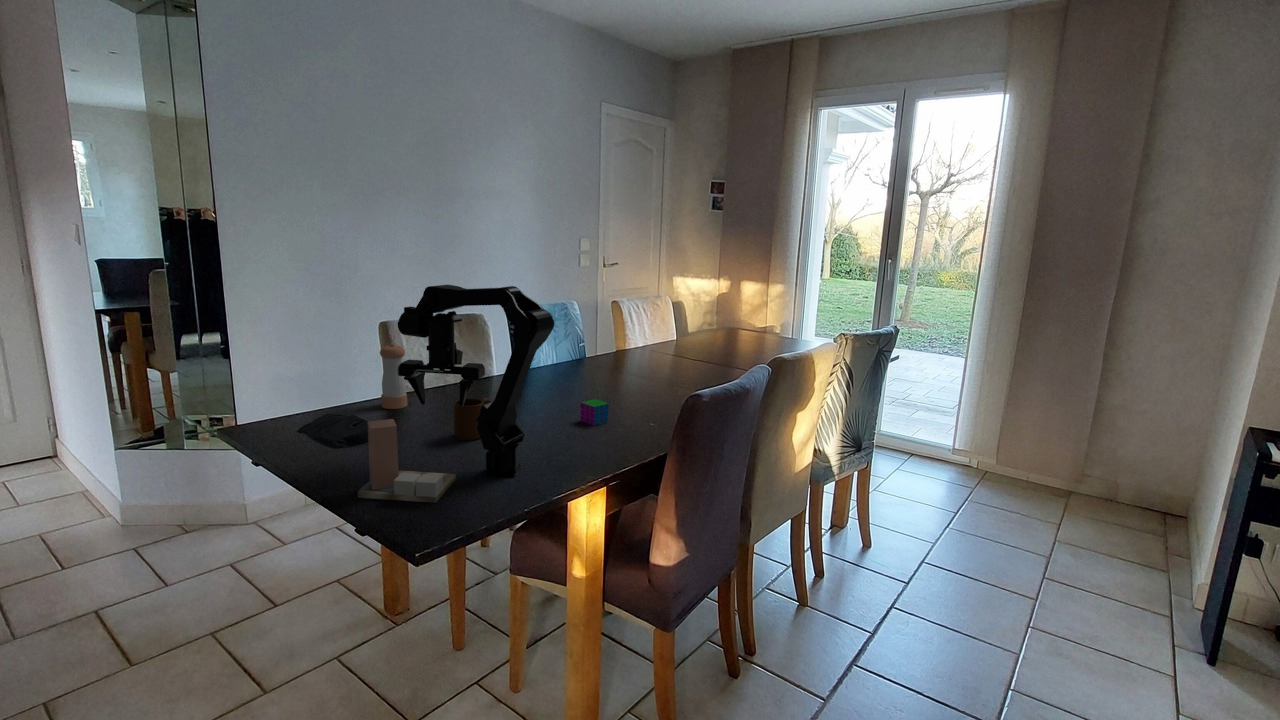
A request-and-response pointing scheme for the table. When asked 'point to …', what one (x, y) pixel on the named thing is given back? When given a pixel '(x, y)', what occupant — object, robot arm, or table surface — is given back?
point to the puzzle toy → (594, 412)
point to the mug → (467, 418)
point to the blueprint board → (389, 495)
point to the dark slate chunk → (337, 430)
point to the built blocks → (418, 484)
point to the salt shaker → (393, 378)
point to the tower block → (383, 453)
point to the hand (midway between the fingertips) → (442, 405)
